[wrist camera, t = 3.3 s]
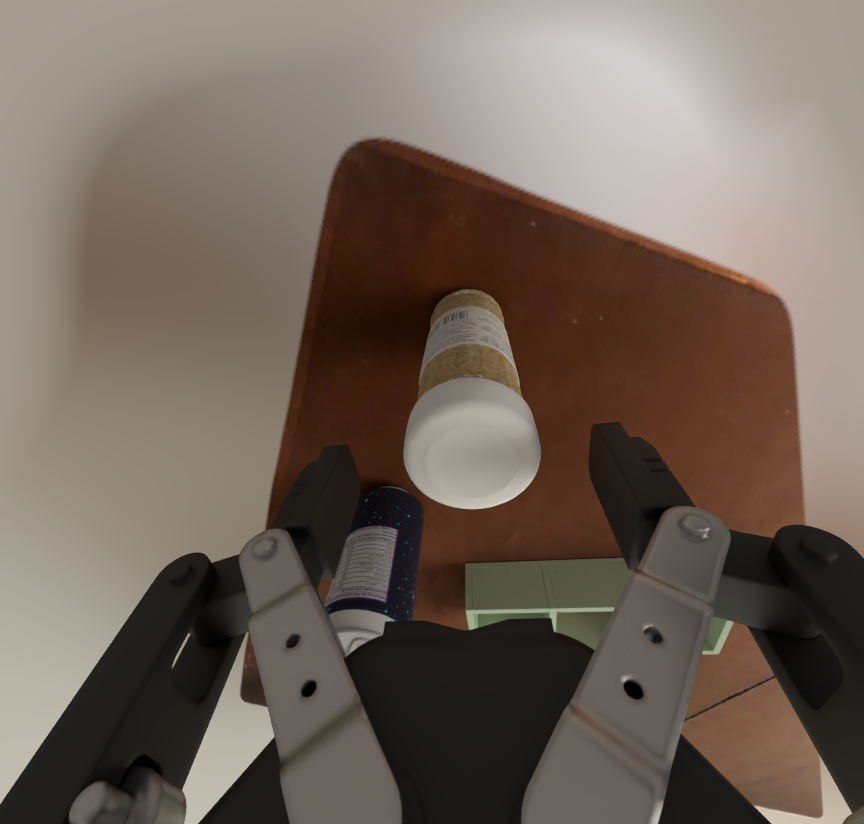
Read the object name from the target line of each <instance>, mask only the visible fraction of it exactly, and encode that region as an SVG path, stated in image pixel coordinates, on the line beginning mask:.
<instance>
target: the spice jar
mask: <svg viewBox="0 0 864 824" xmlns="http://www.w3.org/2000/svg"><path fill="white" fill-rule="evenodd" d="M419 386H420V388H419V394H418V400H417V402H416V404H415V406H414V408H413V410H412V412H411V414H410V417H409V421H408V425H407V430H406V436H405V442H404V464H405V467H406V470H407V473H408V475H409V476H410V478H411V480H412V481H413V483H414V484H415V485H416V486H417V488H419V489H420V490H421V491H422V492H423V493H424V494H425V495H427V496H428V497H430V498H431V499H433V500H435V501H437V502H439V503H442V504H445V505H448V506H452V507H456V508H462V509H481V508H488V507H493V506H496V505H499V504H502V503H505V502H507V501H509V500H511V499H513V498H514V497H516V496H517V495H518V494H520V493H521V492H522V491H524V490H525V489H526V487H527V486H528V485H529V484H530V483H531V481H532V480H533V478H534V477H535V475H536V473H537V470H538V467H539V463H540V459H541V449H540V442H539V438H538V433H537V429H536V426H535V422H534V419H533V415H532V413H531V410H530V408H529V407H528V405H527V403H526V402H525V401H524V400H523V398H522V395H521V391H520V385H519V378H518V374H517V370H516V366H515V363H514V359H513V356H512V352H511V348H510V344H509V339H508V336H507V332H506V330H505V327H504V318H503V315H502V311H501V309H500V307H499V305H498V303H497V302H496V301H495V300H494V299H493V298H492V297H491V296H490V295H487V294H486V293H484V292H482V291H478V290H474V289H462V290H459V291H455V292H453V293H451V294H450V295H447V296H445V297H444V298H443V299H442V300H441V301H440V302H439V303H438V305H437V306H436V307H435V310H434V312H433V315H432V317H431V323H430V332H429V335H428V339H427V344H426V349H425V353H424V358H423V363H422V368H421V373H420V379H419Z"/></svg>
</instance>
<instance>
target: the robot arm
mask: <svg viewBox="0 0 864 824" xmlns="http://www.w3.org/2000/svg"><path fill="white" fill-rule="evenodd" d="M589 473H590V478H591V481H592V484H593V486H594V488H595V491H596V493H597V496H598V498H599V500H600V503H601V505H602V508H603V510H604V512H605V515H606V517H607V519H608V522H609V524H610V527H611V529H612V531H613V534H614V536H615V538H616V541H617V543H618V546H619V548H620V550H621V553H622V555H623V558H624V560H625V562H626V565H627V567H628V569H629V570H631V569H633V571H632V572H631V574H630V576H629V578H628V581H627V583H626V585H625V587H624V589H623V591H622V593H621V596H620V598H619V600H618V602H617V604H616V606H615V608H614V610H613V613H612V615H611V617H610V619H609V621H608V623H607V625H606V628H605V630H604V632H603V634H602V636H601V638H600V640H599V643H598V645H597V647H596V649H595V650H593V649H592V648H590V647H589V646H587V645H586V644H584V643H582V642H580V641H578V640H576V639H574V638H572V637H569V636H567V635H564V634H561V633H557V632H554V629H553V624H552V619H551V618H524V619H506V620H503V621H499V622H496V623H493V624H489V625H486V626H482V627H479V628H475V629H472V630H467V631H464V630H459V629H455V628H451V627H447V626H443V625H440V624H436V623H432V622H428V621H385V625H384V631H383V635H382V636H379V637H376V638H374V639H372V640H369V641H367V642H366V643H364V644H362V645H360V646H359V647H358V648H356V649H355V650H353V651H352V652H351V653H350V654H349V655H348V656H347V653H346V651H345V649H344V647H343V645H342V643H341V641H340V639H339V636H338V634H337V632H336V630H335V628H334V625H333V623H332V621H331V619H330V616H329V614H328V612H327V610H326V608H325V605H324V603H323V601H322V599H321V596H320V594H319V592H318V590H317V589H318V586H319V584H320V581H321V580H325V579H334V578H335V575H336V572H337V568H338V565H339V562H340V559H341V556H342V552H343V549H344V546H345V543H346V539H347V536H348V533H349V530H350V526H351V523H352V520H353V517H354V513H355V510H356V507H357V504H358V501H359V497H360V492H361V484H360V478H359V475H358V472H357V469H356V466H355V463H354V460H353V457H352V454H351V451H350V448H349V446H348V445H336V446H325V447H324V448H323V450H322V452H321V454H320V456H319V458H318V460H317V462H310V463H309V464H308V465H307V466H306V467H305V468H304V469H303V470H302V471H301V472H300V473H299V475H298V477H297V479H296V481H295V483H294V486H292V488H291V490H290V492H289V496H287V498H286V500H285V501H284V503H283V505H282V507H281V509H280V511H279V513H278V515H277V517H276V518H275V520H274V522H273V524H272V526H271V528H270V530H267V531H264V532H262V533H260V534H258V535H256V536H255V537H253V538H252V539H251V540H250V541H248V543H246V545H245V546H244V547H243V549H242V550H241V553H240V554H238V555H236V556H232V557H229V558H226V559H223V560H220V561H217V562H213V563H211V562H210V560H209V558H208V557H207V556H206V555H205V554H203V553H191V554H187V555H184V556H182V557H180V558H178V559H176V560H174V561H173V562H172V563H170V564H169V565H167V566H166V567H165V568H164V569H163V570H162V571H161V572H160V573H159V575H158V576H157V578H156V579H155V580H154V582H153V583H152V584H151V586H150V587H149V589H148V591H147V592H146V593H145V595H144V596H143V598H142V599H141V600H140V602H139V604H138V605H137V606H136V608H135V609H134V611H133V612H132V614H131V615H130V616H129V618H128V619H127V621H126V622H125V624H124V625H123V627H122V628H121V630H120V631H119V632H118V634H117V635H116V637H115V638H114V640H113V641H112V643H111V644H110V646H109V647H108V648H107V650H106V651H105V653H104V654H103V656H102V657H101V659H100V660H99V662H98V663H97V665H96V666H95V667H94V669H93V671H92V672H91V673H90V675H89V676H88V678H87V679H86V680H85V682H84V683H83V685H82V686H81V688H80V689H79V691H78V692H77V694H76V695H75V696H74V698H73V699H72V701H71V702H70V704H69V705H68V707H67V708H66V710H65V711H64V712H63V714H62V715H61V717H60V718H59V720H58V721H57V723H56V724H55V726H54V727H53V728H52V730H51V731H50V733H49V734H48V736H47V737H46V739H45V740H44V742H43V743H42V744H41V746H40V748H39V749H38V750H37V752H36V753H35V755H34V756H33V758H32V759H31V760H30V762H29V763H28V765H27V766H26V768H25V769H24V771H23V772H22V774H21V775H20V776H19V778H18V780H17V781H16V782H15V784H14V785H13V787H12V788H11V790H10V791H9V793H8V794H7V795H6V797H5V798H4V800H3V801H2V803H1V804H0V824H184V821H185V815H186V798H185V796H184V793H183V792H182V789H183V786H184V784H185V781H186V779H187V776H188V774H189V771H190V769H191V767H192V764H193V762H194V759H195V757H196V754H197V752H198V749H199V747H200V745H201V742H202V739H203V737H204V735H205V732H206V730H207V727H208V725H209V722H210V720H211V718H212V715H213V713H214V710H215V708H216V705H217V703H218V700H219V698H220V696H221V693H222V691H223V688H224V686H225V683H226V681H227V678H228V676H229V673H230V671H231V669H232V666H233V664H234V661H235V659H236V656H237V654H238V651H239V649H240V647H241V644H242V642H243V639H244V637H245V634H246V632H249V631H250V635H251V639H252V643H253V647H254V652H255V656H256V660H257V664H258V668H259V673H260V677H261V681H262V685H263V689H264V694H265V698H266V702H267V706H268V710H269V714H270V719H271V723H272V727H273V731H274V735H275V737H274V738H273V739H272V740H271V742H270V743H269V744H268V745H267V746H266V747H265V748H264V750H263V751H262V752H261V753H260V754H259V755H258V756H257V758H256V759H255V760H254V761H253V762H252V763H251V764H250V765H249V767H248V768H247V769H246V770H245V771H244V772H243V773H242V775H241V776H240V777H239V778H238V779H237V780H236V781H235V782H234V784H233V785H232V786H231V787H230V788H229V789H228V790H227V792H226V793H225V794H224V795H223V796H222V797H221V798H220V800H219V801H218V802H217V803H216V804H215V805H214V806H213V807H212V809H211V810H210V811H209V812H208V813H207V814H206V815H205V817H204V818H203V819H202V820H201V821H200V822H199V823H198V824H771V823H770V822H769V821H768V820H767V819H766V818H765V817H764V816H763V815H762V814H761V813H760V812H759V811H758V810H757V809H756V808H755V807H754V806H753V805H752V804H751V803H750V802H749V801H748V800H747V799H746V798H745V797H744V796H743V795H742V794H741V793H740V792H739V791H738V790H737V789H736V788H735V787H734V786H733V785H732V784H731V783H730V782H729V781H728V780H727V779H726V778H725V777H724V776H723V775H722V774H721V773H720V772H719V771H718V770H717V769H716V768H715V767H714V766H713V765H712V764H711V763H710V762H709V761H708V760H707V759H706V758H705V757H704V756H703V755H702V754H701V753H700V752H699V751H698V750H697V749H696V748H695V747H694V746H693V745H692V744H691V743H690V742H689V741H688V740H687V739H686V738H685V737H684V736H683V735H682V734H681V730H682V726H683V722H684V719H685V715H686V711H687V708H688V704H689V700H690V696H691V693H692V689H693V685H694V682H695V678H696V674H697V671H698V667H699V663H700V660H701V656H702V652H703V648H704V645H705V641H706V637H707V634H708V630H709V626H710V623H711V619H712V616H713V617H717V618H720V619H724V620H728V621H732V622H736V623H740V624H743V625H747V626H748V628H749V630H750V632H751V633H752V635H753V637H754V639H755V641H756V642H757V644H758V646H759V648H760V650H761V651H762V653H763V655H764V657H765V658H766V660H767V662H768V664H769V666H770V667H771V669H772V671H773V673H774V674H775V676H776V678H777V680H778V682H779V683H780V685H781V687H782V689H783V691H784V692H785V694H786V696H787V698H788V699H789V701H790V703H791V705H792V707H793V708H794V710H795V712H796V714H797V715H798V717H799V719H800V721H801V723H802V724H803V726H804V728H805V730H806V732H807V733H808V735H809V737H810V739H811V740H812V742H813V744H814V746H815V748H816V749H817V751H818V753H819V755H820V756H821V758H822V760H823V762H824V764H825V765H826V767H827V769H828V771H829V772H830V774H831V776H832V778H833V780H834V781H835V783H836V785H837V787H838V789H839V790H840V792H841V794H842V796H843V797H844V799H845V801H846V803H847V804H848V806H849V808H850V810H851V812H852V814H851V815H850V816H848V817H847V818H846V819H845V821H844V822H843V824H864V558H863V557H862V556H861V555H860V554H859V553H858V552H857V551H856V550H855V549H854V548H852V546H851V545H849V544H848V543H847V542H845V541H844V540H842V539H841V538H839V537H837V536H835V535H833V534H831V533H829V532H826V531H824V530H821V529H818V528H815V527H810V526H805V525H789V526H785V527H782V528H780V529H779V530H778V531H777V533H776V534H775V537H774V538H769V537H764V536H758V535H753V534H747V533H742V532H737V531H733V530H730V529H728V528H727V526H726V525H725V524H724V523H723V522H722V521H721V520H720V519H719V518H718V517H716V516H715V515H713V514H711V513H709V512H707V511H705V510H702V509H699V508H696V507H695V505H694V504H693V502H692V501H691V499H690V498H689V496H688V495H687V494H686V492H685V491H684V489H683V488H682V486H681V485H680V484H679V482H678V481H677V479H676V478H675V476H674V475H673V474H672V472H671V471H669V468H668V466H667V465H666V464H665V462H664V461H662V458H661V456H660V455H659V453H658V452H657V451H656V449H655V448H654V446H652V445H651V444H649V443H648V442H646V441H645V440H643V439H642V438H640V437H630V438H629V436H628V435H627V433H626V431H625V430H624V428H623V427H622V425H621V424H620V423H619V422H615V423H603V424H593V426H592V429H591V440H590V452H589ZM188 633H189V634H190V636H189V638H188V640H187V642H186V644H185V646H184V648H183V650H182V652H181V653H180V655H179V657H178V659H177V661H176V663H175V665H174V667H173V669H172V665H173V662H174V659H175V657H176V655H177V653H178V651H179V649H180V647H181V645H182V643H183V642H184V640H185V638H186V636H187V634H188Z"/></svg>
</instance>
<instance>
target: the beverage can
mask: <svg viewBox="0 0 864 824" xmlns="http://www.w3.org/2000/svg"><path fill="white" fill-rule="evenodd" d="M423 521H424V510H423V507H422V505H421V504H420V502H419V501H418V500H417V499H416V498H415V497H414V496H412V495H411V494H410V493H408V492H407V491H405V490H403V489H401V488H398V487H392V486H385V487H380V488H375V489H372V490H370V491H368V492H366V493H364V494H363V495H362V496H361V497H360V498H359V501H358V504H357V507H356V510H355V513H354V517H353V520H352V523H351V526H350V530H349V533H348V536H347V539H346V543H345V546H344V549H343V552H342V556H341V559H340V562H339V565H338V568H337V572H336V575H335V578H334V579H333V580H332V583H331V587H330V590H329V593H328V596H327V599H326V602H325V608H326V610H327V612H328V614H329V616H330V619H331V621H332V623H333V625H334V628H335V630H336V632H337V634H338V636H339V639H340V641H341V643H342V645H343V647H344V649H345V651H346V653H347V656H348V655H349V654H350V653H351V652H352V651H353V650H355V649H356V648H358V647H359V646H360V645H362V644H364V643H366V642H367V641H369V640H372V639H374V638H376V637H379V636H382V635H383V631H384V625H385V621H412V618H413V609H414V600H415V591H416V583H417V574H418V565H419V556H420V547H421V539H422V530H423Z"/></svg>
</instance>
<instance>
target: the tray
mask: <svg viewBox="0 0 864 824" xmlns="http://www.w3.org/2000/svg"><path fill="white" fill-rule="evenodd" d="M632 571H633V569H631V570H629V569H628V567H627V565H626V562H625V560H624V558H599V559H572V560H545V561H518V562H491V563H466V564H465V611H466V617H467V622H468V627H469V630H472V629H475V628H479V627H482V626H486V625H489V624H493V623H496V622H499V621H503V620H506V619H524V618H551V619H552V624H553V629H554V632H557V633H561V634H564V635H567V636H569V637H572V638H574V639H576V640H578V641H580V642H582V643H584V644H586V645H587V646H589V647H590V648H592V649H593V650H595V649H596V647H597V645H598V643H599V640H600V638H601V636H602V634H603V632H604V630H605V628H606V625H607V623H608V621H609V619H610V617H611V615H612V613H613V610H614V608H615V606H616V604H617V602H618V600H619V598H620V596H621V593H622V591H623V589H624V587H625V585H626V583H627V581H628V578H629V576H630V574H631V572H632ZM733 623H734V622H732V621H728V620H724V619H720V618H717V617H713V616H712V619H711V623H710V626H709V630H708V634H707V637H706V641H705V645H704V648H703V652H702V654H719V652H720V650H721V648H722V646H723V644H724V642H725V640H726V638H727V635H728V633H729V631H730V629H731V627H732V625H733Z"/></svg>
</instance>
